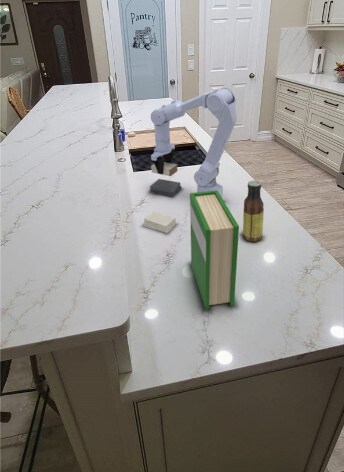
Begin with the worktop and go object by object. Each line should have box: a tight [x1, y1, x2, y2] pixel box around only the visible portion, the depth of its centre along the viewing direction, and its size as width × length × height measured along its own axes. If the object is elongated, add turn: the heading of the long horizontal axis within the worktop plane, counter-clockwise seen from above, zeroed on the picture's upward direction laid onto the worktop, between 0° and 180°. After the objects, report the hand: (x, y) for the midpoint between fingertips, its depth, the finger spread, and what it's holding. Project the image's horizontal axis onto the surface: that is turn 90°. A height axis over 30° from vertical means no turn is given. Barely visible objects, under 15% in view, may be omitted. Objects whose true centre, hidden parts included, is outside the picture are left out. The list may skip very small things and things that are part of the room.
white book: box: [150, 162, 178, 177], centre depth 134 cm, size 9×6×3 cm, turn 60°
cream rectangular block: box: [143, 211, 177, 234], centre depth 116 cm, size 10×6×3 cm, turn 60°
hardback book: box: [189, 190, 240, 311], centre depth 85 cm, size 18×7×24 cm, turn 9°
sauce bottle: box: [242, 180, 265, 242], centre depth 104 cm, size 6×6×20 cm
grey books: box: [149, 178, 183, 198], centre depth 140 cm, size 11×8×3 cm
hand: (164, 170), depth 134 cm, fingers closed on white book, 5 cm apart
